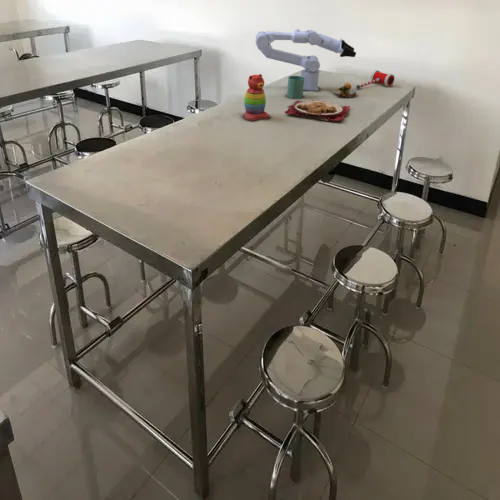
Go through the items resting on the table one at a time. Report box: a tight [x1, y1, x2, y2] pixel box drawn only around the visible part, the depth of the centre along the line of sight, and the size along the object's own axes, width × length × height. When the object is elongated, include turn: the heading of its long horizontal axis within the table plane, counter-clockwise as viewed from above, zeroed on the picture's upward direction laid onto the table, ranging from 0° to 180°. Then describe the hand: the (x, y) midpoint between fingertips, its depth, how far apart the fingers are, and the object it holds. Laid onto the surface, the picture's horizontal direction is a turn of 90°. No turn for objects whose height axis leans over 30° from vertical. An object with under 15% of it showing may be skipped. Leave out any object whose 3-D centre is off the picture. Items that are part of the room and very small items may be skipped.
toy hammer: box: [355, 69, 395, 90], centre depth 261 cm, size 23×12×6 cm, turn 127°
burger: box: [332, 80, 357, 98], centre depth 245 cm, size 12×12×8 cm
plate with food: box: [284, 99, 351, 123], centre depth 222 cm, size 24×26×4 cm
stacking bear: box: [243, 73, 270, 122], centre depth 209 cm, size 11×10×18 cm
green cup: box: [286, 75, 304, 100], centre depth 240 cm, size 8×8×9 cm
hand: (354, 52), depth 245 cm, fingers open, 7 cm apart
